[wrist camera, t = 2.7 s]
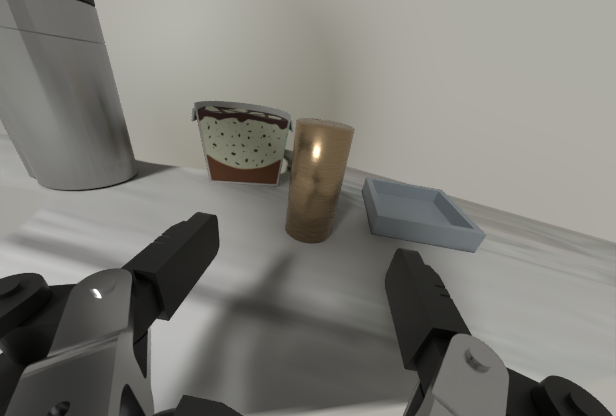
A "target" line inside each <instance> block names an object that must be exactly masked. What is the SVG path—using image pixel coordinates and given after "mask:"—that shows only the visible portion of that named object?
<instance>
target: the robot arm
mask: <svg viewBox="0 0 616 416" xmlns="http://www.w3.org/2000/svg"><path fill="white" fill-rule="evenodd" d="M0 119H1V121H2V123H3V125H4V127H5V129H6V131H7V133H8V135H9V137H10V139H11V141H12V143H13V145H14V146H15V148H16V150H17V152H18V154H19V156H20V158H21V160H22V162H23V164H24V166H25V167H26V169H27V171H28V173H29V175H30V176H31V177H35V178H36V179H37V181H38V183H39V184H41V185H42V186H45V187H47V188H53V189H61V190H82V189H93V188H100V187H105V186H110V185H114V184H117V183H121V182H123V181H126V180H128V179H130V178H132V177H133V176H135V175H136V174H137V172H138V170H137V166H136V162H135V158H134V154H133V150H132V146H131V143H130V138H129V134H128V130H127V126H126V122H125V118H124V115H123V111H122V107H121V103H120V99H119V95H118V91H117V88H116V84H115V80H114V76H113V72H112V68H111V65H110V61H109V57H108V53H107V49H106V45H105V42H104V38H103V34H102V30H101V26H100V23H99V19H98V15H97V11H96V8H95V3H94V0H0ZM218 249H219V230H218V219H217V216H216V215H212V214H207V213H201V212H197V213H195V214H194V215H193V216H192V217H191V218H190V219H189V220H187V221H182V222H180V223H178V224H176V225H174V226H171V227H170V228H169V229H168V230H166V231H165V232H164V233H163V234H162V236H159V237H158V238H157V239H156V240H154V243H151V244H150V245H148V246H147V247H146V248H145V249H144V250H142V251H141V252H140V253H139V254H138V255H136V256H135V257H134V258H133V259H132V260H130V261H129V262H128V263H127V264H126V265H124V266H123V267H122V268H121V269H119V268H115V269H107V270H103V271H100V272H97V273H94V274H92V275H90V276H88V277H86V278H85V279H83V280H82V281H80V282H79V283H78V284H68V285H54V286H48V284H47V283H46V281H45V280H44V278H43V277H42V276H41V275H39V274H36V273H22V274H16V275H12V276H8V277H5V278H2V279H0V349H1V350H2V351H3V353H2V354H0V416H243V415H241V414H240V413H238V412H236V411H235V410H233V409H232V408H230V407H228V406H227V405H225V404H224V403H221V402H216V401H211V400H207V399H202V398H197V397H192V396H188V395H183V396H182V398H181V400H180V402H179V404H178V406H177V408H172V409H169V410H165V411H161V412H159V413H156V414H155V413H154V402H153V395H152V390H151V328H150V326H151V325H152V323H153V322H154V321H155V320H156V318H157V319H162V320H167V321H169V320H170V318H171V317H172V316H173V314H174V313H175V312H176V310H177V309H178V307H179V306H180V305H181V303H182V302H183V301H184V299H185V298H186V296H187V295H188V294H189V292H190V291H191V290H192V288H193V287H194V285H195V284H196V283H197V281H198V280H199V278H200V277H201V276H202V274H203V273H204V272H205V270H206V269H207V267H208V266H209V265H210V263H211V262H212V261H213V259H214V258H215V256H216V255H217V252H218ZM385 289H386V293H387V297H388V301H389V305H390V309H391V314H392V318H393V322H394V326H395V330H396V334H397V339H398V343H399V347H400V351H401V355H402V359H403V364H404V368H405V369H408V370H413V371H417V372H418V376H419V379H420V380H419V381H418V383H417V385H416V387H415V389H414V391H413V394H412V396H411V398H410V400H409V403H408V405H407V407H406V409H405V412H404V414H403V416H612V414H611V413H610V412H609V411H608V410H607V409H606V408H605V407H604V406H603V405H602V404H601V403H600V402H599V401H598V400H597V399H596V398H595V397H593V396H592V395H591V394H590V393H589V392H587V391H586V390H585V389H583V388H582V387H580V386H579V385H577V384H575V383H573V382H572V381H570V380H568V379H565V378H563V377H559V376H548V377H547V378H545V379H544V380H543V381H541V382H540V383H538V382H536V381H534V380H532V379H530V378H528V377H526V376H524V375H522V374H519V373H517V372H515V371H513V370H511V369H509V368H507V367H506V366H505V365H504V363H503V361H502V360H501V359H500V357H499V356H498V355H497V354H496V353H495V352H494V351H493V350H492V349H491V348H490V347H489V346H488V345H487V344H485V343H484V342H482V341H481V340H479V339H477V338H475V337H473V336H472V335H471V333H470V331H469V330H468V328H467V326H466V324H465V322H464V320H463V319H462V317H461V315H460V313H459V311H458V309H457V308H456V306H455V304H454V302H453V300H452V299H451V298H450V295H449V293H448V291H447V289H445V285H444V284H443V282H442V280H441V278H440V276H439V275H438V274H437V273H436V272H435V271H434V270H433V269H432V268H431V267H430V266H428V265H425V264H424V262H423V260H422V258H421V256H420V254H419V253H418V252H417V251H412V250H407V249H401V248H398V249H397V250H396V252H395V255H394V257H393V259H392V262H391V264H390V267H389V269H388V271H387V274H386V278H385Z"/></svg>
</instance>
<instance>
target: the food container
mask: <svg viewBox="0 0 616 416" xmlns="http://www.w3.org/2000/svg"><path fill="white" fill-rule="evenodd" d="M194 104H195V108H193V111H192V121H195V120H197V122H198V126H199V131H200V136H201V141H202V145H203V150H204V155H205V160H206V164H207V169H208V174H209V179H210V182H214V183H231V184H248V185H265V186H278V182H279V177H280V172H281V167H282V162H283V156H284V151H285V146H286V141H287V136H288V130H289V129H290V130H291V131H292V132H293V123H292V120H291V115H290V114H289V113H287V112H285V111H282V110H278V109H274V108H270V107H265V106H260V105H253V104H246V103H237V102H224V101H202V102H196V103H194Z"/></svg>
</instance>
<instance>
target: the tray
mask: <svg viewBox="0 0 616 416" xmlns="http://www.w3.org/2000/svg"><path fill="white" fill-rule="evenodd" d="M362 194H363V198H364V203H365V207H366V211H367V216H368V220H369V225H370V229H371V234H375V235H380V236H386V237H391V238H397V239H402V240H407V241H413V242H418V243H424V244H429V245H435V246H440V247H446V248H451V249H457V250H462V251H468V252H473V253H474V252H475V251H476V250H477V248H478V247H479V245H480V244H481V242H482V241H483V239H484V238H485V236H486V234H485V233H484V232H483V231H482V230H481V229H480V228H479V227H478V226H477V225H476V224H475V223H474V222H473V221H472V220H471V219H470V218H469V217H468V216H467V215H466V214H465V213H464V212H463V211H462V210H461V209H460V208H459V207H458V206H457V205H456V204H455V203H454V202H453V201H452V200H451V199H450V198H449V197H448V196H447V195H446V194H445V193H444V192H443V191H442V190H439V189H433V188H427V187H421V186H416V185H410V184H405V183H399V182H393V181H387V180H382V179H376V178H370V177H366V179H365V183H364V186H363V190H362Z"/></svg>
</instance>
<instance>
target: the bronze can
mask: <svg viewBox="0 0 616 416" xmlns="http://www.w3.org/2000/svg"><path fill="white" fill-rule="evenodd" d="M353 134H354V128H352V127H351V126H348V125H345V124H342V123H338V122H333V121H327V120H321V119H311V118H310V119H309V118H303V119H297V120H296V130H295V139H294V150H293V159H292V168H291V178H290V188H289V197H288V207H287V217H286V226H285V228H286V231H287V233H288V234H289V235H290V236H291V237H292V238H294V239H296V240H298V241H301V242H305V243H319V242H323V241H325V240H326V239H328V238H329V236H330V233H331V229H332V224H333V220H334V216H335V212H336V207H337V203H338V199H339V194H340V190H341V186H342V181H343V177H344V173H345V168H346V164H347V159H348V156H349V151H350V147H351V142H352V138H353Z"/></svg>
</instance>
